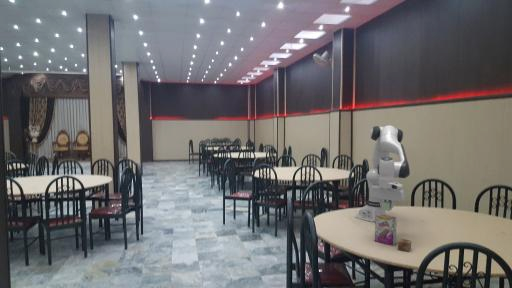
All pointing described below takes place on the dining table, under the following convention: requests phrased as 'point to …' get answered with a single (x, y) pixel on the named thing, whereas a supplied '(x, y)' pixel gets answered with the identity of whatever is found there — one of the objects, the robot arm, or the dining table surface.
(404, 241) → the walnut block
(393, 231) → the candy bar box
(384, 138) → the robot arm
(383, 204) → the sage cube
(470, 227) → the dining table surface
